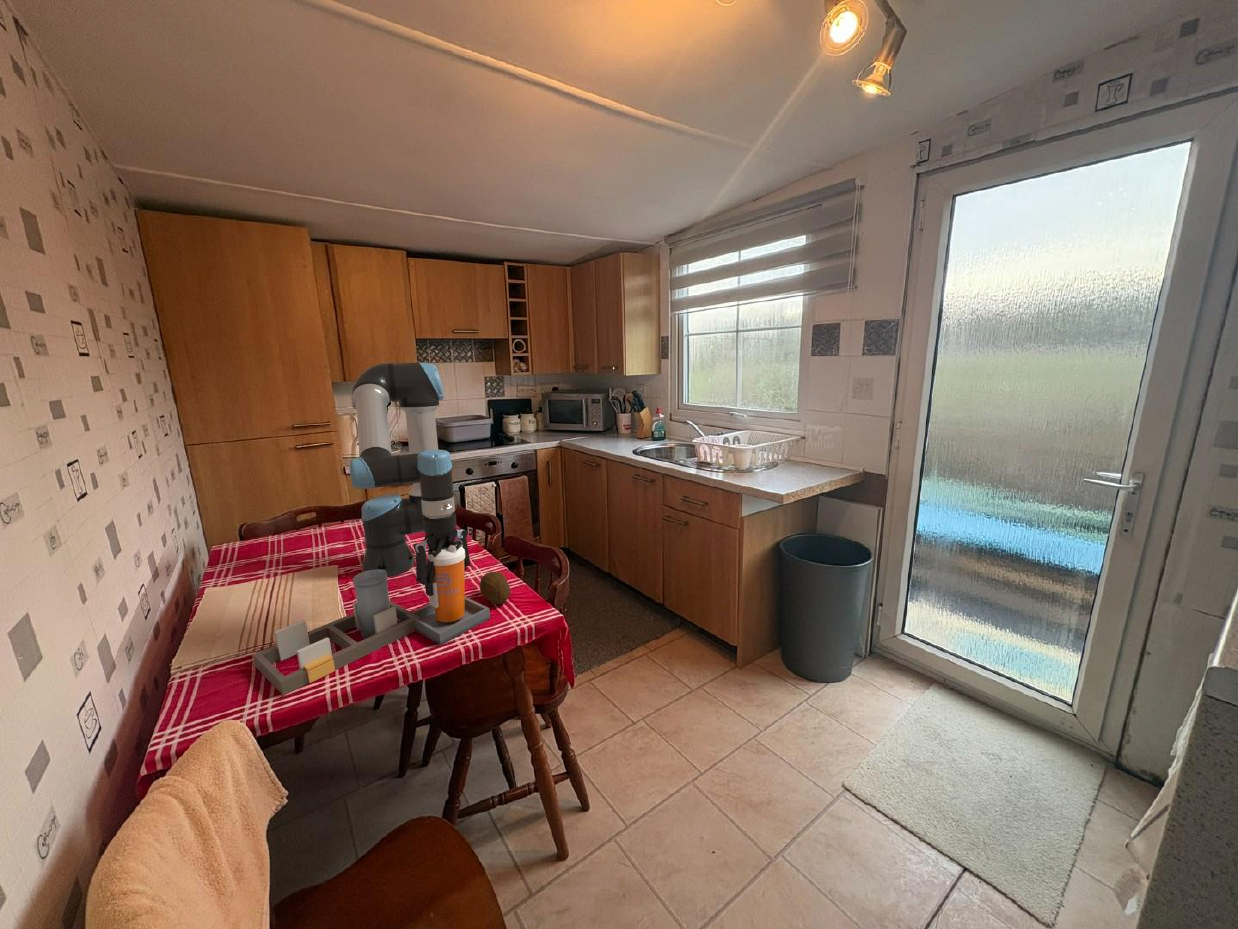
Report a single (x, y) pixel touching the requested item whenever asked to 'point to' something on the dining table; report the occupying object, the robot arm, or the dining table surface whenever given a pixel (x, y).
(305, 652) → the rack
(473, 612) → the tray
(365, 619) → the canister
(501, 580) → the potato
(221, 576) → the dining table surface
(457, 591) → the shaker bottle
